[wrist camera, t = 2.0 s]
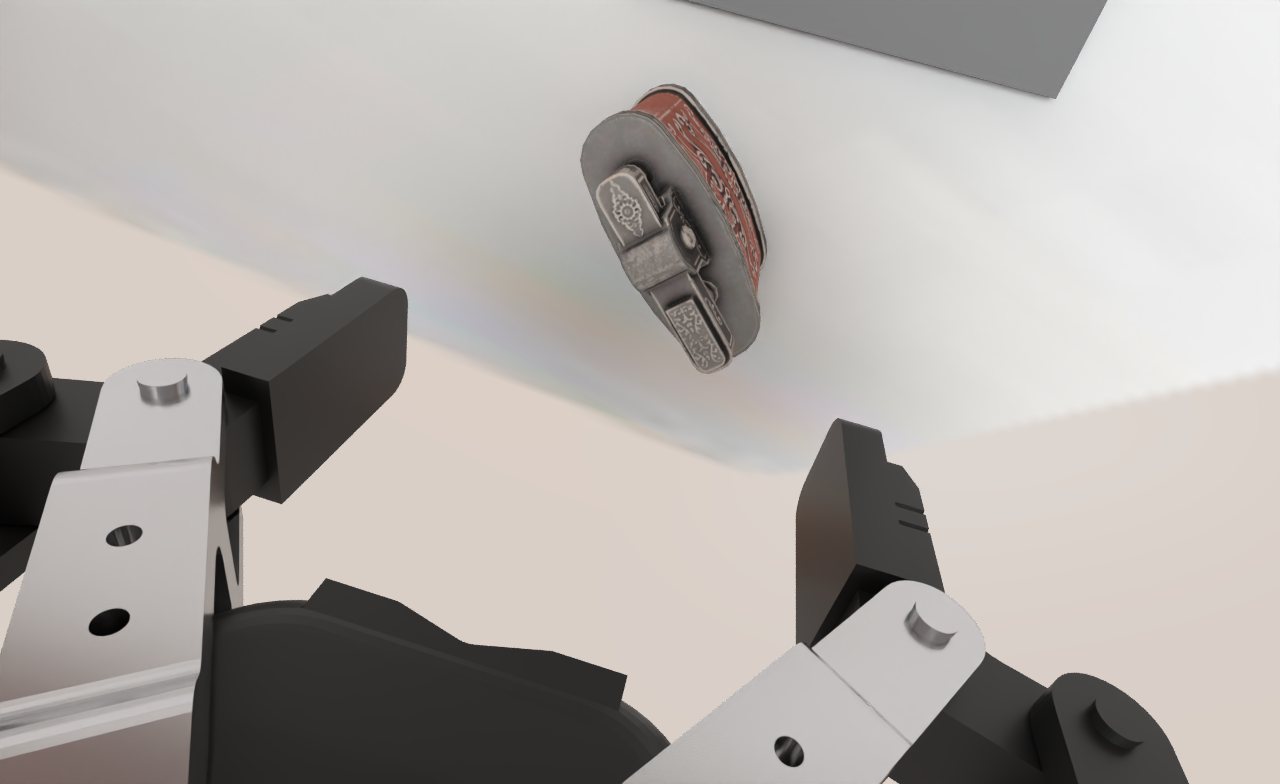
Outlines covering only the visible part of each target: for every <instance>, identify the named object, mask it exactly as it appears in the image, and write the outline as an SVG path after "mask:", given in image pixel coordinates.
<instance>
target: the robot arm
mask: <svg viewBox="0 0 1280 784" xmlns="http://www.w3.org/2000/svg"><path fill="white" fill-rule="evenodd" d="M407 313H408V299H407V295H406V292H405V291H404V290H403V289H402V288H399V287H395V286H392V285H389V284H385V283H382V282H378V281H375V280H372V279H368V278H365V277H361V278H358V279H356V280H355V281H353V282H352V283H350V284H349V285H347V286H345V287H344V288H342V289H341V290H339V291H338V292H336V293H335V294H333V295H328V294H326V295H322V296H319V297H315V298H312V299H308V300H304V301H301V302H298V303H296V304H295V305H293V306H291V307H290V308H288V309H286V310H285V311H283V312H281V313H280V314H278V316H277V318H272V319H270V320H268V321H267V322H265V323H264V324H262V325H260V329H257V328H256V329H254V330H252V331H251V332H249V333H247V334H246V335H244V336H242V337H241V338H239V339H238V340H236V341H234V342H233V343H231V344H229V345H228V346H226V347H225V348H223V349H221V350H220V351H218V352H216V353H215V354H213V355H211V356H210V357H208V358H207V359H205V360H203V361H202V362H200V361H196V360H190V359H181V358H165V359H155V360H149V361H144V362H141V363H137V364H134V365H131V366H128V367H126V368H123V369H121V370H119V371H118V372H116V373H114V374H113V375H112V376H111V377H109V378H108V379H107V380H106V381H105V382H94V381H82V380H71V379H58V378H52V376H51V373H50V370H49V367H48V363H47V360H46V357H45V355H44V354H43V352H42V351H41V350H40V349H38V348H36V347H34V346H32V345H29V344H26V343H22V342H17V341H9V340H0V591H2V590H3V589H4V588H5V587H7V585H9V584H10V583H11V582H12V581H14V580H15V579H16V578H18V577H19V576H20V575H21V574H22V573H24V572H25V574H24V577H23V581H22V584H21V587H20V590H19V594H18V597H17V601H16V604H15V608H14V610H13V614H12V617H11V620H10V624H9V627H8V630H7V634H6V637H5V640H4V644H3V647H2V650H1V654H0V784H882V783H883V782H884V781H885V780H886V779H887V778H888V777H890V778H891V779H893V780H894V781H896V782H897V783H899V784H1189V783H1188V780H1187V778H1186V776H1185V774H1184V772H1183V769H1182V767H1181V765H1180V763H1179V761H1178V758H1177V756H1176V754H1175V751H1174V749H1173V747H1172V745H1171V743H1170V741H1169V739H1168V738H1167V736H1166V735H1165V733H1164V732H1163V730H1162V729H1161V727H1160V726H1159V725H1158V724H1157V722H1156V721H1155V720H1154V719H1153V718H1152V717H1151V715H1149V714H1148V712H1147V711H1146V710H1145V709H1144V708H1142V707H1141V706H1140V705H1139V704H1138V703H1137V702H1136V701H1135V700H1133V699H1132V698H1131V697H1129V696H1128V695H1127V694H1126V693H1124V692H1123V691H1121V690H1119V689H1118V688H1116V687H1115V686H1113V685H1111V684H1109V683H1107V682H1106V681H1104V680H1101V679H1099V678H1096V677H1094V676H1090V675H1087V674H1081V673H1067V674H1064V675H1062V676H1060V677H1059V678H1057V680H1055V682H1054V683H1053V684H1052V685H1051V686H1050V687H1049V688H1046V687H1044V686H1042V685H1041V684H1039V683H1037V682H1035V681H1034V680H1032V679H1030V678H1028V677H1026V676H1025V675H1023V674H1021V673H1020V672H1018V671H1016V670H1014V669H1013V668H1010V667H1009V666H1007V665H1005V664H1003V663H1002V662H1000V661H999V660H997V659H996V658H994V657H992V656H991V655H990V654H988V653H987V652H986V648H985V641H984V637H983V635H982V632H981V630H980V628H979V627H978V625H977V623H976V622H975V620H974V619H973V618H972V616H971V615H970V614H969V613H968V612H967V611H966V610H965V609H964V608H963V607H962V606H961V605H960V604H958V602H956V601H955V600H954V599H953V598H951V597H950V596H948V595H947V594H945V591H944V588H943V583H942V579H941V575H940V571H939V567H938V564H937V559H936V555H935V551H934V547H933V543H932V540H931V535H930V533H928V529H929V528H928V523H927V519H926V515H924V514H923V513H924V508H923V504H922V499H921V496H920V491H919V488H918V487H917V486H916V484H915V483H914V482H913V480H912V479H911V478H910V476H909V475H908V473H907V472H906V471H905V469H904V468H903V467H902V466H899V465H896V464H892V463H889V462H887V459H886V454H885V449H884V444H883V439H882V434H881V432H880V431H879V430H877V429H873V428H870V427H867V426H863V425H860V424H856V423H853V422H850V421H846V420H843V419H839V418H838V419H836V420H835V421H834V422H833V424H832V425H831V427H830V429H829V431H828V433H827V436H826V438H825V440H824V442H823V444H822V446H821V448H820V451H819V453H818V455H817V457H816V459H815V461H814V464H813V466H812V468H811V470H810V472H809V474H808V476H807V479H806V481H805V483H804V485H803V488H802V491H801V494H800V497H799V501H798V506H797V511H796V645H795V646H794V647H792V648H791V649H789V650H788V651H787V652H786V653H784V654H783V655H782V656H781V657H779V658H778V659H777V660H776V661H774V662H773V663H772V664H771V665H769V666H768V667H767V668H766V669H764V670H763V671H762V672H761V673H759V674H758V675H757V676H756V677H754V678H753V679H752V680H751V681H749V682H748V683H747V684H746V685H744V686H743V687H742V688H741V689H739V690H738V691H737V692H736V693H734V694H733V695H732V696H731V697H729V698H728V699H727V700H726V701H724V702H723V703H722V704H721V705H719V706H718V707H717V708H716V709H714V710H713V711H712V712H711V713H709V714H708V715H707V716H706V717H704V718H703V719H702V720H701V721H699V722H698V723H697V724H696V725H694V726H693V727H692V728H691V729H689V730H688V731H687V732H686V733H684V734H683V735H682V736H681V737H679V738H678V739H677V740H676V741H674V742H673V743H672V744H670V742H669V741H668V740H667V739H666V737H665V736H664V735H663V734H662V733H661V732H660V731H659V730H658V729H657V728H656V727H655V726H654V725H653V724H652V723H651V722H650V721H649V720H648V719H647V718H645V717H644V716H643V715H642V714H640V713H639V712H638V711H637V710H635V709H634V708H633V707H631V706H630V705H628V704H626V703H624V702H623V701H622V700H621V699H622V695H623V691H624V687H625V683H626V679H627V675H624V674H621V673H618V672H615V671H612V670H609V669H606V668H603V667H600V666H597V665H594V664H590V663H587V662H584V661H581V660H578V659H575V658H572V657H569V656H565V655H562V654H559V653H556V652H553V651H544V650H532V649H520V648H507V647H496V646H483V645H473V644H468V643H465V642H462V641H460V640H458V639H457V638H455V637H454V636H452V635H450V634H449V633H447V632H446V631H444V630H443V629H441V628H439V627H438V626H436V625H435V624H433V623H431V622H430V621H428V620H427V619H425V618H424V617H422V616H420V615H419V614H417V613H416V612H414V611H413V610H411V609H409V608H408V607H406V606H404V605H403V604H402V603H400V602H398V601H395V600H392V599H389V598H386V597H383V596H380V595H376V594H373V593H370V592H367V591H364V590H361V589H358V588H355V587H352V586H348V585H346V584H342V583H339V582H336V581H333V580H330V579H327V578H326V579H325V580H324V581H323V583H322V584H321V585H320V587H319V588H318V589H317V590H316V591H315V593H314V594H313V595H312V596H311V598H310V599H309V600H308V601H307V600H286V601H285V600H284V601H272V602H264V603H257V604H252V605H247V606H243V515H242V508H241V505H242V504H243V503H244V502H245V501H246V500H247V499H248V498H250V497H251V496H252V495H255V496H258V497H261V498H265V499H267V500H270V501H274V502H277V503H280V504H282V503H283V502H284V501H286V499H287V498H289V497H290V496H291V494H293V493H294V492H295V491H296V490H297V489H298V488H299V486H301V484H303V483H304V482H305V481H306V480H307V479H308V478H309V477H310V476H311V475H312V474H313V473H314V472H315V471H316V470H317V469H318V468H319V467H320V466H321V465H322V464H323V463H324V462H325V461H326V460H327V459H328V458H329V457H330V456H331V455H332V454H333V453H334V452H335V451H336V450H337V449H338V448H339V447H340V446H341V445H342V444H343V443H344V442H345V441H346V440H347V439H348V438H349V437H350V436H351V435H352V434H353V433H354V432H355V431H356V430H357V429H358V428H359V427H360V426H361V425H363V423H365V422H366V420H368V418H370V417H371V416H372V415H373V414H374V413H375V412H376V410H378V409H379V408H380V407H381V406H382V405H383V404H384V403H385V402H386V401H387V400H388V399H389V398H390V397H391V396H392V395H393V394H394V393H395V391H396V390H397V388H398V387H399V385H400V383H401V380H402V378H403V375H404V371H405V367H406V349H407Z"/></svg>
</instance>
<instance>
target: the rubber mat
mask: <svg viewBox="0 0 1280 784" xmlns="http://www.w3.org/2000/svg"><path fill="white" fill-rule="evenodd" d="M688 1H692V2H696V3H700V4H703V5H707V6H711V7H714V8H718V9H722V10H726V11H729V12H733V13H737V14H741V15H744V16H748V17H752V18H756V19H759V20H763V21H767V22H770V23H774V24H778V25H782V26H785V27H789V28H793V29H797V30H800V31H804V32H808V33H811V34H815V35H819V36H823V37H826V38H830V39H834V40H838V41H841V42H845V43H849V44H853V45H856V46H860V47H864V48H867V49H871V50H875V51H879V52H882V53H886V54H890V55H894V56H897V57H901V58H905V59H908V60H912V61H916V62H920V63H923V64H927V65H931V66H935V67H938V68H942V69H946V70H950V71H953V72H957V73H961V74H964V75H968V76H972V77H976V78H979V79H983V80H987V81H991V82H994V83H998V84H1002V85H1006V86H1009V87H1013V88H1017V89H1020V90H1024V91H1028V92H1032V93H1035V94H1039V95H1043V96H1047V97H1050V98H1054V99H1056V97H1057V96H1058V94H1059V92H1060V90H1061V88H1062V86H1063V84H1064V82H1065V80H1066V78H1067V77H1068V75H1069V73H1070V71H1071V69H1072V67H1073V65H1074V63H1075V61H1076V59H1077V57H1078V56H1079V54H1080V52H1081V50H1082V48H1083V46H1084V44H1085V42H1086V40H1087V38H1088V36H1089V35H1090V33H1091V31H1092V29H1093V27H1094V25H1095V23H1096V21H1097V19H1098V17H1099V15H1100V14H1101V12H1102V10H1103V8H1104V6H1105V4H1106V2H1107V0H688Z"/></svg>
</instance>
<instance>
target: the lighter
mask: <svg viewBox="0 0 1280 784" xmlns="http://www.w3.org/2000/svg"><path fill="white" fill-rule="evenodd" d="M580 161H581V167H582V173H583V176H584V179H585V181H586V184H587V187H588V189H589V192H590V195H591V197H592V200H593V203H594V205H595V208H596V211H597V213H598V216H599V219H600V221H601V224H602V226H603V228H604V230H605V232H606V234H607V236H608V238H609V240H610V242H611V244H612V246H613V248H614V250H615V252H616V254H617V256H618V258H619V260H620V262H621V264H622V267H623V269H624V271H625V273H626V275H627V276H628V278H629V280H630V281H631V283H632V285H633V286H634V287H635V288H636V289H637V290H638V291H639V292H640V293H641V295H642V296H643V298H644V299H645V301H646V302H647V303H648V305H649V306H650V308H651V309H652V311H653V312H654V314H655V315H656V316H657V317H658V318H659V319H660V320H661V322H662V323H663V324H664V325H665V326H666V327H667V329H668V330H669V331H670V332H671V333H672V334H673V335H674V337H675V338H676V339H677V340H678V341H679V342H680V344H681V345H682V347H683V349H684V350H685V352H686V354H687V355H688V357H689V359H690V361H691V362H692V364H693V365H694V367H695V368H696V369H697V370H698V371H700V372H702V373H707V374H709V373H713V372H716V371H719V370H721V369H723V368H725V367H727V366H728V365H729V364H730V363H731V361H732V358H733V357H736V356H737V355H739V354H741V353H742V352H744V351H746V350H747V349H748V348H749V346H750V345H751V344H752V343H753V342H754V341H755V339H756V336H757V334H758V331H759V328H760V306H759V303H758V299H757V289H758V280H759V271H760V270H761V269H762V268H763V265H764V262H765V259H766V252H767V247H766V239H765V235H764V231H763V227H762V224H761V220H760V216H759V213H758V209H757V205H756V202H755V200H754V198H753V195H752V193H751V190H750V188H749V185H748V183H747V180H746V178H745V175H744V173H743V170H742V168H741V166H740V164H739V162H738V160H737V159H736V157H735V155H734V154H733V152H732V150H731V148H730V147H729V145H728V143H727V142H726V140H725V138H724V137H723V135H722V133H721V131H720V130H719V128H718V127H717V125H716V124H715V123H714V121H713V120H712V119H711V118H710V116H709V115H708V114H707V112H706V111H705V110H704V108H703V107H702V106H701V104H700V103H699V102H698V100H697V99H696V98H695V96H694V95H693V94H692V93H691V92H690V91H688V90H687V89H686V88H685V87H682V86H679V85H676V84H665V85H660V86H658V87H655V88H653V89H651V90H649V91H648V92H646V93H645V94H644V95H643V96H642V97H641V98H639V99H638V100H637V101H636V103H635V105H634V106H633V108H632V109H631V110H628V111H622V112H619V113H617V114H614V115H612V116H610V117H608V118H606V119H605V120H603V121H602V122H601V123H600V124H599V125H598V126H596V127H595V128H594V129H593V130H592V131H591V132H590V134H589V136H588V137H587V139H586V141H585V143H584V144H583V148H582V154H581V159H580Z"/></svg>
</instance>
